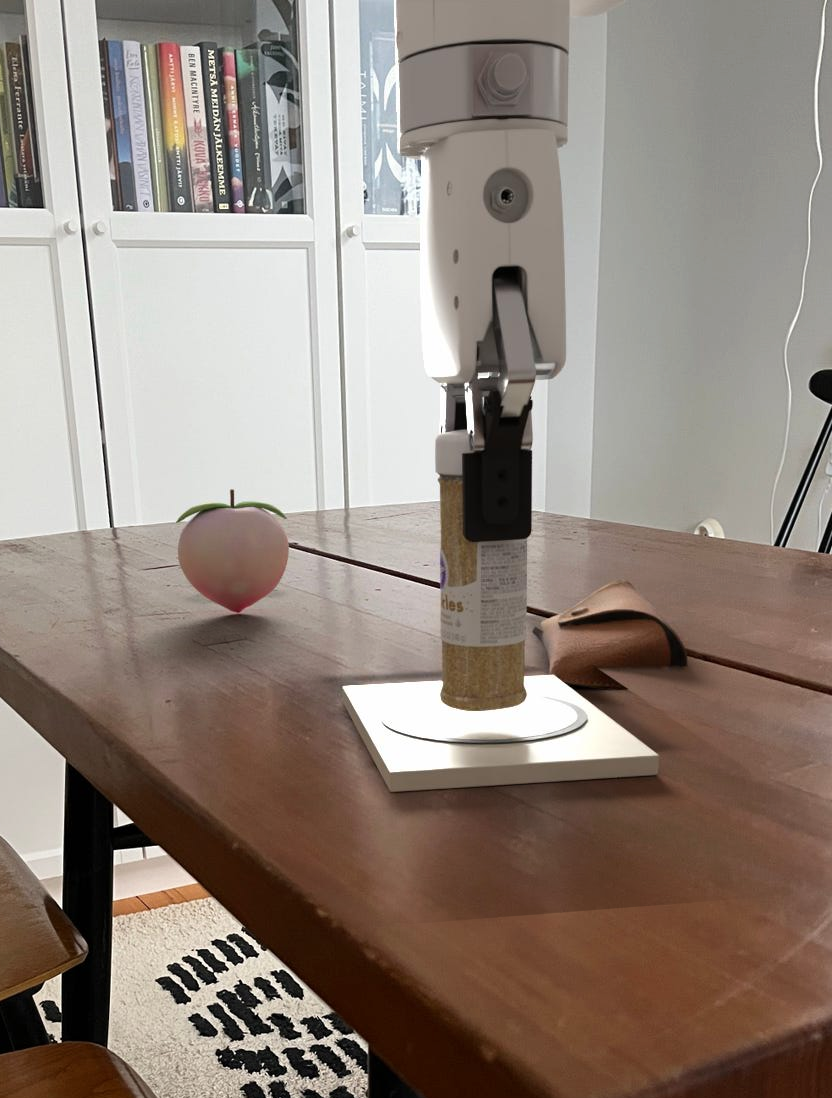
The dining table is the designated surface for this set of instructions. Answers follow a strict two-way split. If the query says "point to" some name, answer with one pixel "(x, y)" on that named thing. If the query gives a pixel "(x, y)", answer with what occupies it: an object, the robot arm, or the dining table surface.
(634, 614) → the sunglasses case
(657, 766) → the white flat block
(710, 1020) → the dining table surface
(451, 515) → the sprinkles bottle
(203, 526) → the decorative fruit
